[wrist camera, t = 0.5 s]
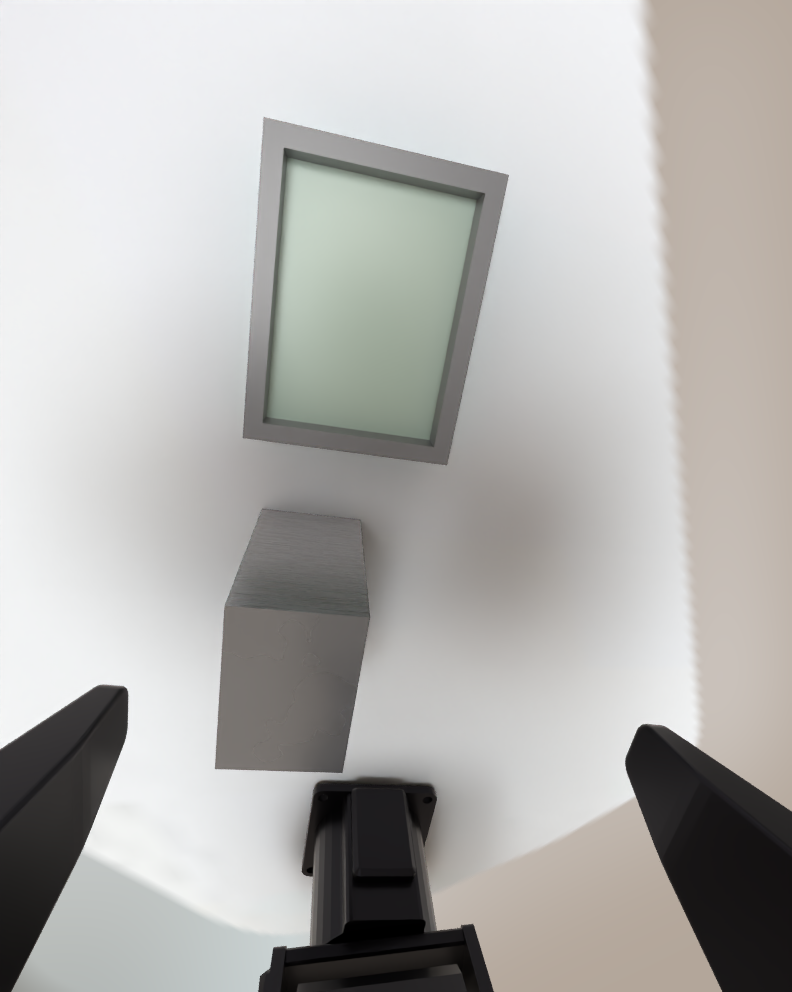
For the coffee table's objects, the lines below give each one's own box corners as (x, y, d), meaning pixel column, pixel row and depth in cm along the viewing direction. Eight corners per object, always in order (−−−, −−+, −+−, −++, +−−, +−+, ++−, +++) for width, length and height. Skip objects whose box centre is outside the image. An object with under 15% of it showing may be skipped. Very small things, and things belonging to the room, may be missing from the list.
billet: (341, 638, 23) (342, 772, 16) (252, 632, 22) (215, 768, 15) (360, 519, 21) (369, 617, 14) (262, 508, 20) (224, 605, 13)
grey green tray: (436, 450, 20) (446, 465, 18) (252, 424, 19) (243, 437, 17) (489, 189, 17) (508, 175, 15) (272, 140, 16) (263, 116, 14)
